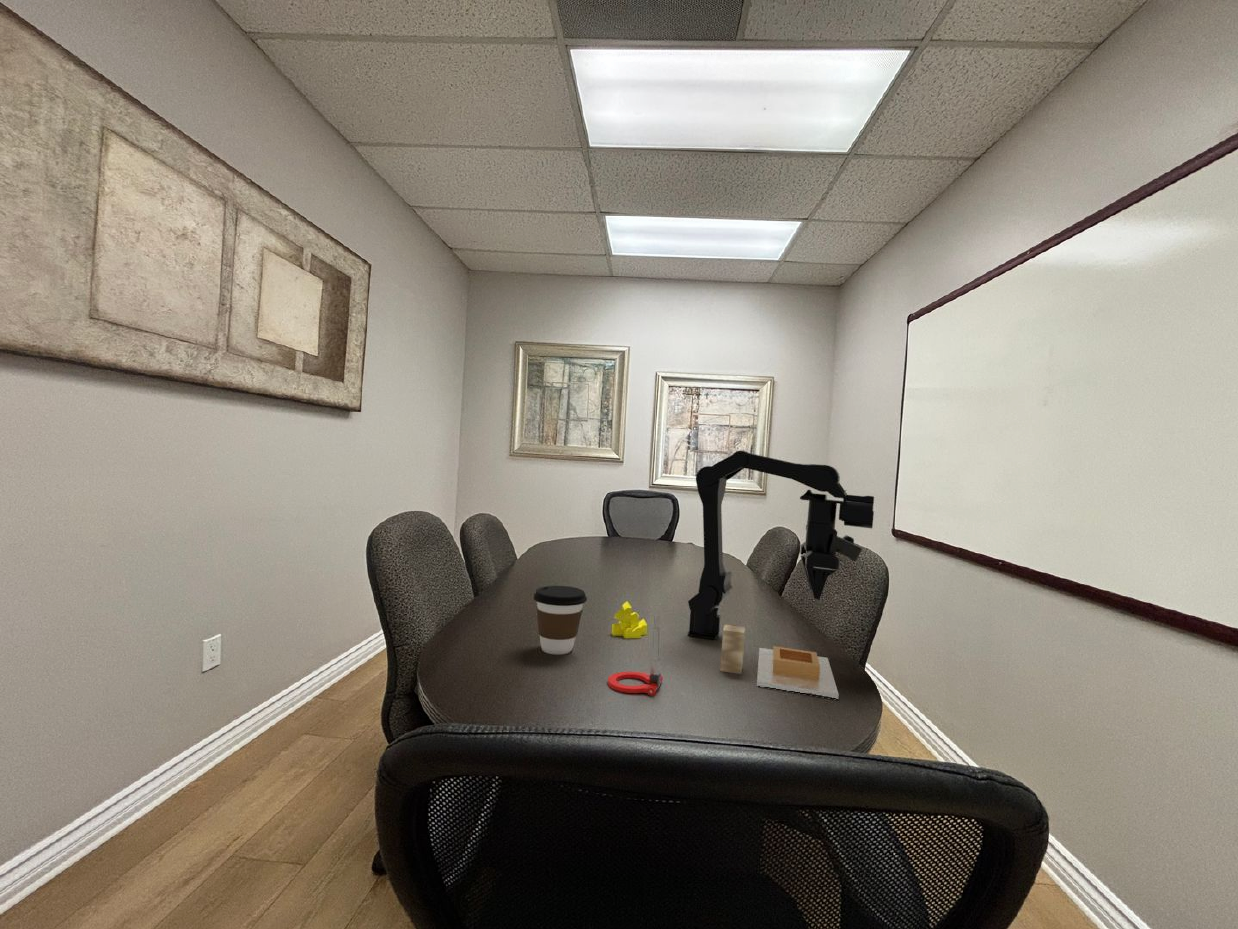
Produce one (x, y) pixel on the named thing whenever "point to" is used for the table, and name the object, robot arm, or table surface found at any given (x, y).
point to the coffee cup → (558, 617)
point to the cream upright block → (732, 649)
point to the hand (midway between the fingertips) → (814, 594)
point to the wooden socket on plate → (795, 671)
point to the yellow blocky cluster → (628, 623)
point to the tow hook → (652, 679)
